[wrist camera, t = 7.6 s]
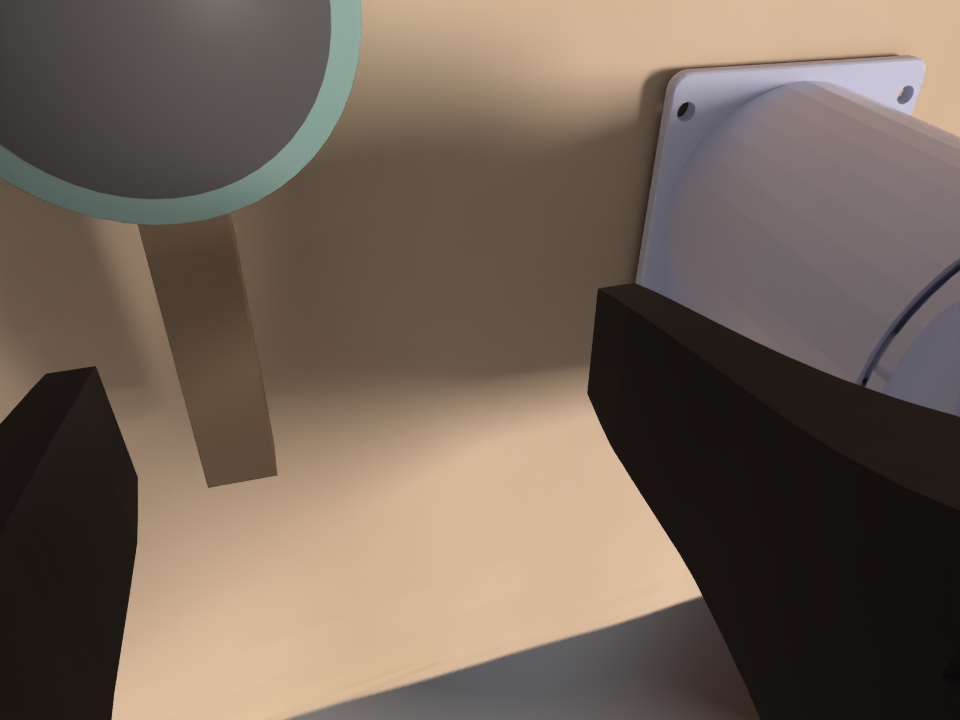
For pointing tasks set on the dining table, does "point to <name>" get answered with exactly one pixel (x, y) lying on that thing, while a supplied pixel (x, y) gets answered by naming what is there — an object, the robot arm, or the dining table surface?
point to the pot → (179, 159)
